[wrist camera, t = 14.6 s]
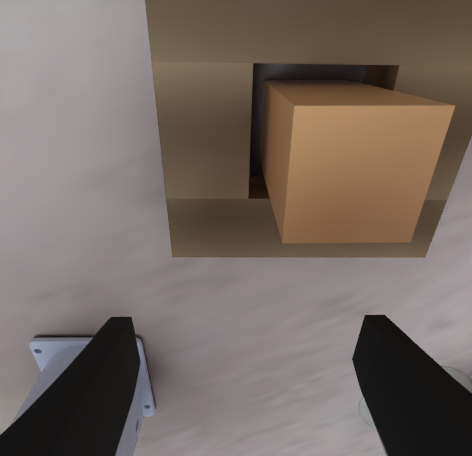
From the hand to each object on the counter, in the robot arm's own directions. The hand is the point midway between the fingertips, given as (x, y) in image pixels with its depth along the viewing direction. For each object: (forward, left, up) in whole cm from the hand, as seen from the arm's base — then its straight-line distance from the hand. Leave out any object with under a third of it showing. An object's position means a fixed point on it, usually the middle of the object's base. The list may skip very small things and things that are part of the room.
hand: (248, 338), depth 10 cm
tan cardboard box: (+5, -3, -9) cm, 11 cm away
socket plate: (+5, -3, -9) cm, 11 cm away
